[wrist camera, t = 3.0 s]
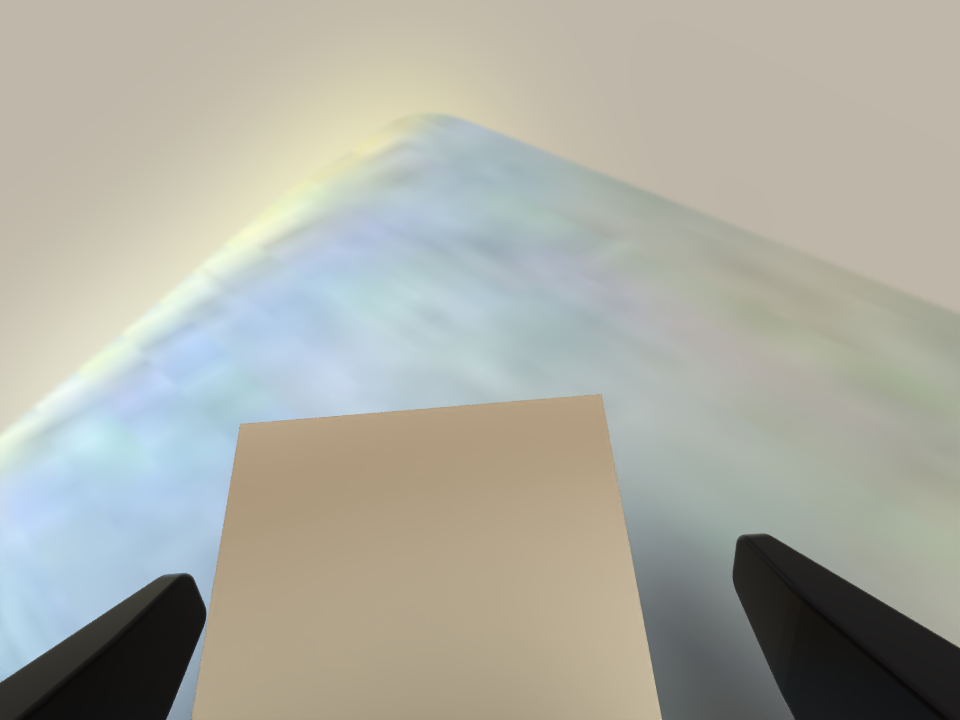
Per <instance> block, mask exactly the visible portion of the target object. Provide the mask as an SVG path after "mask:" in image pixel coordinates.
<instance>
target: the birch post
mask: <svg viewBox="0 0 960 720" xmlns="http://www.w3.org/2000/svg"><path fill="white" fill-rule="evenodd" d="M191 720H662V717H661V712H660V706H659V701H658V696H657V690H656V685H655V680H654V674H653V669H652V663H651V658H650V653H649V647H648V642H647V637H646V631H645V626H644V620H643V615H642V610H641V604H640V599H639V594H638V588H637V583H636V577H635V572H634V567H633V561H632V556H631V551H630V545H629V540H628V535H627V529H626V524H625V518H624V513H623V508H622V502H621V497H620V492H619V486H618V481H617V475H616V470H615V465H614V459H613V454H612V449H611V443H610V438H609V432H608V427H607V422H606V416H605V411H604V406H603V400H602V395H601V394H597V395H585V396H573V397H561V398H549V399H537V400H525V401H513V402H501V403H489V404H477V405H465V406H453V407H441V408H429V409H416V410H404V411H392V412H380V413H368V414H356V415H344V416H332V417H320V418H308V419H296V420H284V421H272V422H260V423H248V424H240V428H239V434H238V440H237V446H236V452H235V458H234V464H233V470H232V476H231V482H230V488H229V494H228V500H227V506H226V512H225V518H224V524H223V530H222V536H221V542H220V548H219V554H218V560H217V566H216V572H215V578H214V584H213V590H212V596H211V602H210V609H209V615H208V621H207V627H206V633H205V639H204V645H203V651H202V657H201V663H200V669H199V675H198V681H197V687H196V693H195V699H194V705H193V711H192V717H191Z"/></svg>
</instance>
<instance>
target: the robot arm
mask: <svg viewBox="0 0 960 720" xmlns="http://www.w3.org/2000/svg"><path fill="white" fill-rule="evenodd" d="M733 583H734V587H735V590H736V592H737V594H738V597H739V599H740V601H741V604H742V606H743V608H744V610H745V613H746V615H747V617H748V619H749V622H750V624H751V626H752V629H753V631H754V633H755V635H756V638H757V640H758V642H759V644H760V647H761V649H762V651H763V654H764V656H765V658H766V660H767V663H768V665H769V667H770V669H771V672H772V674H773V676H774V678H775V681H776V683H777V685H778V687H779V689H780V691H781V693H782V695H783V697H784V699H785V701H786V703H787V705H788V707H789V709H790V711H791V713H792V714H793V716H794V718H795V720H960V648H959V647H957V646H956V645H954V644H952V643H951V642H949V641H947V640H946V639H944V638H942V637H941V636H939V635H937V634H936V633H934V632H932V631H930V630H929V629H927V628H925V627H924V626H922V625H920V624H919V623H917V622H915V621H914V620H912V619H910V618H909V617H907V616H905V615H904V614H902V613H900V612H898V611H897V610H895V609H893V608H892V607H890V606H888V605H887V604H885V603H883V602H882V601H880V600H878V599H877V598H875V597H873V596H872V595H870V594H868V593H866V592H865V591H863V590H861V589H860V588H858V587H856V586H855V585H853V584H851V583H850V582H848V581H846V580H845V579H843V578H841V577H840V576H838V575H836V574H835V573H833V572H831V571H829V570H828V569H826V568H824V567H823V566H821V565H819V564H818V563H816V562H814V561H813V560H811V559H809V558H808V557H806V556H804V555H803V554H801V553H799V552H797V551H796V550H794V549H792V548H791V547H789V546H787V545H786V544H784V543H782V542H781V541H779V540H777V539H776V538H774V537H772V536H770V535H768V534H747V535H742V536H740V537H739V538H738V540H737V543H736V550H735V558H734V565H733ZM205 620H206V607H205V604H204V602H203V600H202V597H201V595H200V592H199V590H198V587H197V585H196V583H195V580H194V578H193V577H192V576H191V575H190V574H187V573H179V574H167V575H163V576H161V577H159V578H157V579H156V580H154V581H153V582H151V583H150V584H148V585H147V586H145V587H144V588H142V589H141V590H139V591H138V592H136V593H135V594H133V595H132V596H130V597H129V598H127V599H126V600H124V601H123V602H121V603H120V604H118V605H117V606H115V607H114V608H112V609H111V610H109V611H108V612H106V613H105V614H103V615H102V616H100V617H98V618H97V619H95V620H94V621H92V622H91V623H89V624H88V625H86V626H85V627H83V628H82V629H80V630H79V631H77V632H76V633H74V634H73V635H71V636H70V637H68V638H67V639H65V640H64V641H62V642H61V643H59V644H58V645H56V646H55V647H53V648H52V649H50V650H49V651H47V652H46V653H44V654H43V655H41V656H40V657H38V658H37V659H35V660H34V661H32V662H31V663H29V664H28V665H26V666H25V667H23V668H22V669H20V670H19V671H17V672H16V673H14V674H13V675H11V676H10V677H8V678H7V679H5V680H4V681H2V682H1V683H0V720H166V719H167V716H168V714H169V712H170V709H171V707H172V704H173V702H174V699H175V697H176V694H177V692H178V689H179V687H180V684H181V682H182V680H183V677H184V675H185V672H186V670H187V667H188V665H189V662H190V660H191V657H192V655H193V652H194V650H195V647H196V645H197V642H198V640H199V637H200V635H201V632H202V630H203V627H204V624H205Z"/></svg>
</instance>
